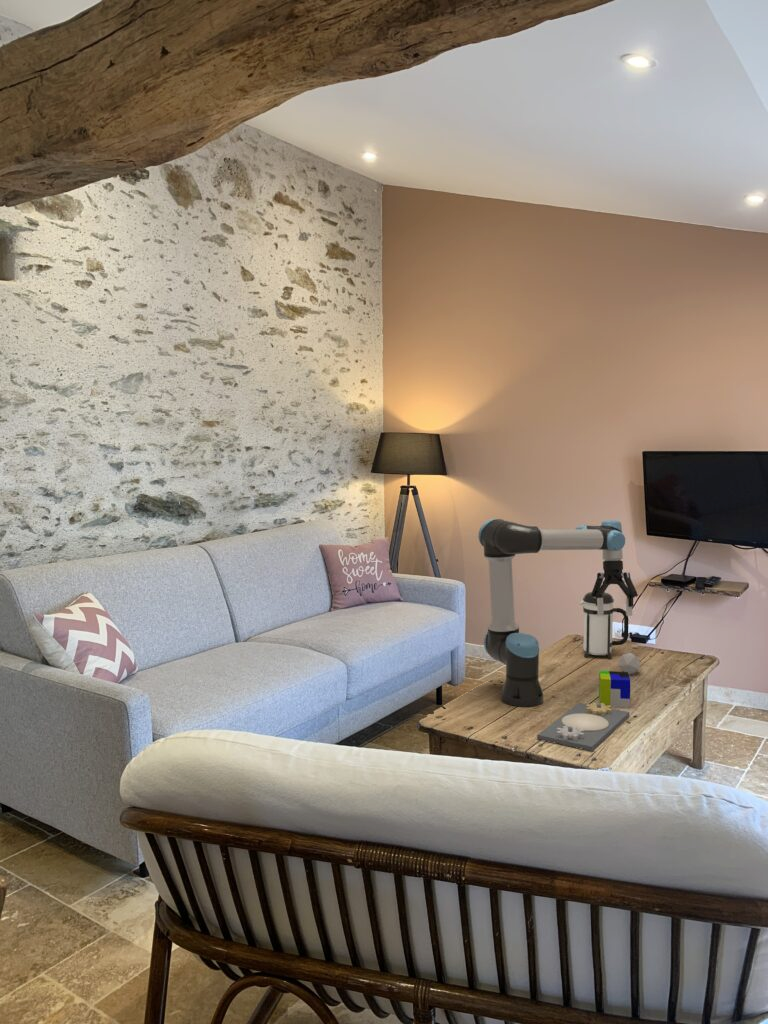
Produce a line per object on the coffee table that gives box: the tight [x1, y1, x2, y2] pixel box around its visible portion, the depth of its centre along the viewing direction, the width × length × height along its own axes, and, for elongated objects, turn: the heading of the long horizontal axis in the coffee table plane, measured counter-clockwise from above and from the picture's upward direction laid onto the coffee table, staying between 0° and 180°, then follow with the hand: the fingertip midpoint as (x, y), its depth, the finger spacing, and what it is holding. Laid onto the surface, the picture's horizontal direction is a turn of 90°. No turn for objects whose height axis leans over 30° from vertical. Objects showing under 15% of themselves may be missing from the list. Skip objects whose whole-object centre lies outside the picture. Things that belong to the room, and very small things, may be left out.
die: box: [617, 652, 642, 676], centre depth 327 cm, size 8×9×10 cm
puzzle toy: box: [598, 670, 631, 709], centre depth 293 cm, size 10×10×10 cm
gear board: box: [536, 702, 630, 752], centre depth 270 cm, size 36×18×4 cm, turn 146°
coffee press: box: [579, 591, 629, 660], centre depth 352 cm, size 17×16×30 cm
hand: (614, 615), depth 317 cm, fingers open, 13 cm apart
